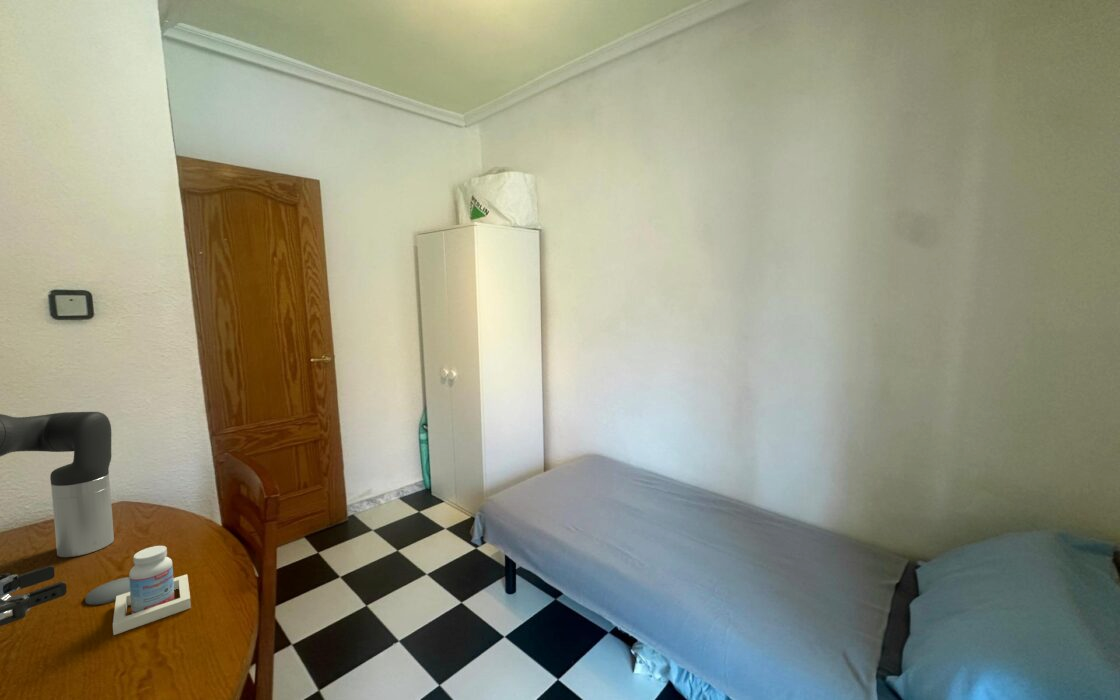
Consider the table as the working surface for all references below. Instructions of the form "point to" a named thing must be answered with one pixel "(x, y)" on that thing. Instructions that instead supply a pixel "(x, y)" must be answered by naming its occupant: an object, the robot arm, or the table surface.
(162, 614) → the holder
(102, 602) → the coaster
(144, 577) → the pill bottle
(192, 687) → the table surface
